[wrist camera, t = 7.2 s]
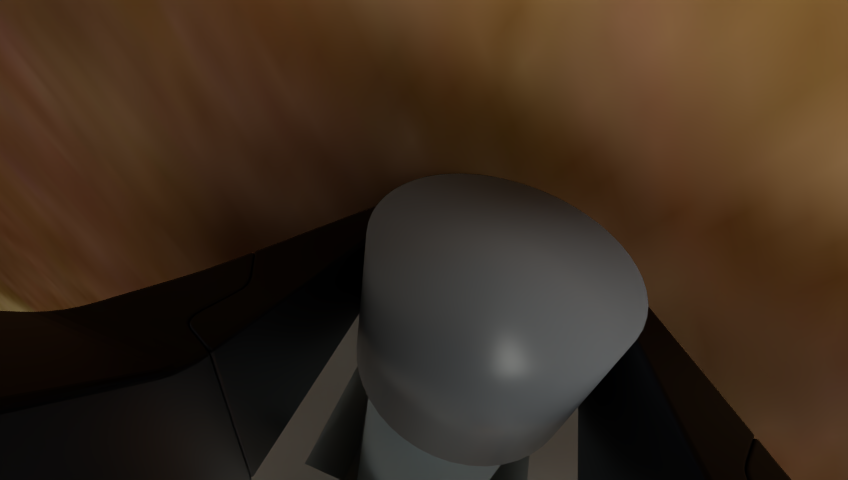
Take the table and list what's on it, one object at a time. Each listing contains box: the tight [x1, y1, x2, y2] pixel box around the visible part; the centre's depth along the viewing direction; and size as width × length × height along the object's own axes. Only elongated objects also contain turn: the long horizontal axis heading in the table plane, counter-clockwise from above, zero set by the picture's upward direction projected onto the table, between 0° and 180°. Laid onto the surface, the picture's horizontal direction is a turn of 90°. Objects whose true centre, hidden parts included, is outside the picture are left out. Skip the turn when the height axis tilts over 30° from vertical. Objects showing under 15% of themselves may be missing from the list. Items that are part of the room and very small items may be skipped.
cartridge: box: [357, 174, 648, 480], centre depth 11 cm, size 16×5×5 cm, turn 170°
